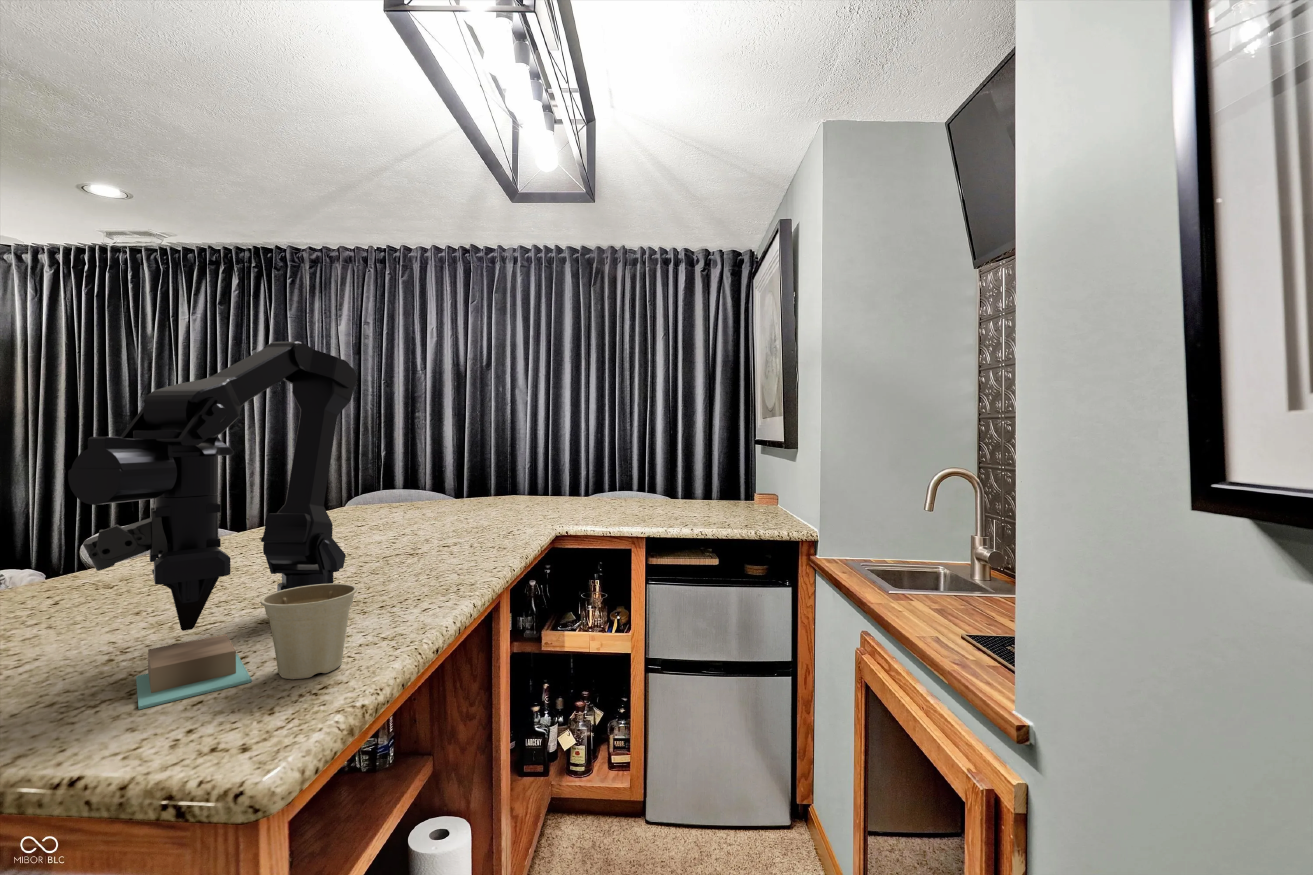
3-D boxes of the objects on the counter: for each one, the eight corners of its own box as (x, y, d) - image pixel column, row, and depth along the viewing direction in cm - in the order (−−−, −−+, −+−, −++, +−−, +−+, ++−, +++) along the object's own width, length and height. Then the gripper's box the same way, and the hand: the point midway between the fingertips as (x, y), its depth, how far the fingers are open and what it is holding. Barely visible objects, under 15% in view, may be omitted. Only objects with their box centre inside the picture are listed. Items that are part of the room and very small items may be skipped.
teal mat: (237, 656, 68) (237, 654, 68) (251, 681, 61) (251, 678, 61) (136, 678, 62) (136, 675, 62) (138, 709, 55) (138, 706, 55)
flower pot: (271, 660, 67) (271, 587, 67) (360, 648, 71) (360, 579, 71) (250, 693, 58) (250, 609, 58) (353, 677, 62) (353, 598, 62)
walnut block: (226, 634, 68) (235, 650, 62) (226, 654, 68) (236, 673, 62) (148, 649, 63) (151, 668, 58) (148, 671, 63) (151, 693, 58)
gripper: (93, 495, 67) (92, 626, 67) (85, 507, 54) (84, 672, 54) (211, 489, 75) (211, 607, 75) (231, 499, 61) (231, 643, 61)
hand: (187, 629), depth 66 cm, fingers closed
